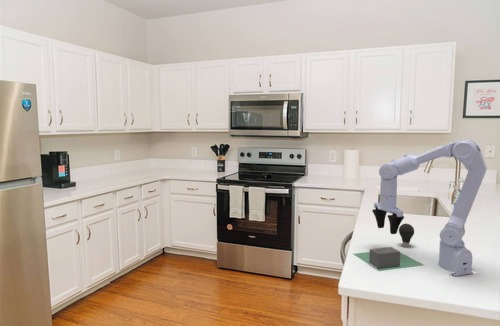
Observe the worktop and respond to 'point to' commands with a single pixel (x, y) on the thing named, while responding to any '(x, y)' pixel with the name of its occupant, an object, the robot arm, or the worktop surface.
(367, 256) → the header board
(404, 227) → the light bulb
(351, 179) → the worktop surface
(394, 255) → the plug housing
